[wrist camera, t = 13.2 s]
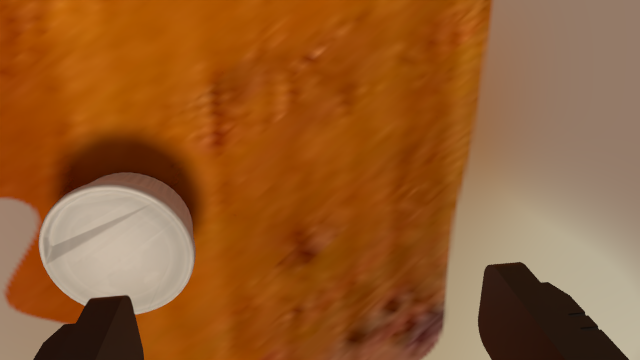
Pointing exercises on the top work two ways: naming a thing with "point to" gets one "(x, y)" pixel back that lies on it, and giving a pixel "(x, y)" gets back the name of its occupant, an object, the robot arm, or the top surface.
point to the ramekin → (120, 241)
